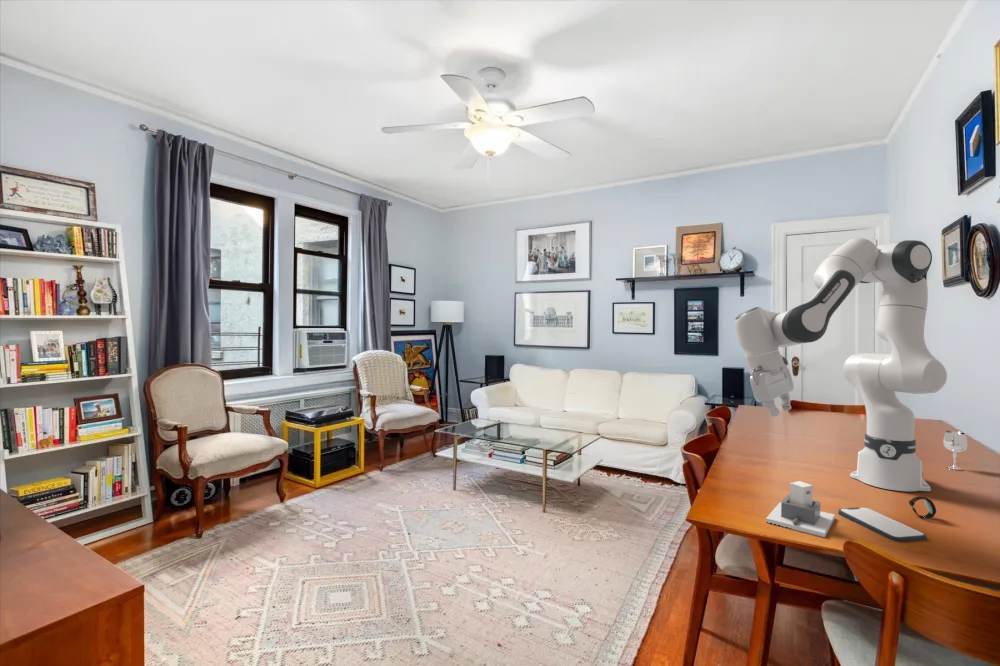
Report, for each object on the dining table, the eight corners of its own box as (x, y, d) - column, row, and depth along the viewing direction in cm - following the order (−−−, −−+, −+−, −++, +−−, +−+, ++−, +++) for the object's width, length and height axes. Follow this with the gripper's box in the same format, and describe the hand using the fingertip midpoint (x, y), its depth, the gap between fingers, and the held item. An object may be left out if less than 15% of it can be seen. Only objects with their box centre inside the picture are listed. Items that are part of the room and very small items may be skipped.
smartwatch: (936, 522, 117) (936, 502, 117) (908, 516, 120) (908, 496, 120) (935, 517, 120) (936, 497, 120) (908, 511, 123) (908, 492, 123)
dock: (779, 505, 127) (780, 488, 127) (834, 518, 119) (835, 500, 119) (765, 522, 117) (766, 504, 117) (824, 537, 109) (825, 517, 108)
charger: (798, 512, 120) (799, 481, 120) (812, 518, 117) (813, 485, 117) (789, 514, 119) (790, 482, 118) (803, 520, 115) (804, 487, 115)
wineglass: (965, 472, 154) (966, 435, 154) (941, 468, 158) (942, 432, 158) (967, 469, 158) (968, 432, 157) (943, 465, 162) (944, 429, 162)
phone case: (929, 542, 108) (865, 512, 124) (930, 535, 108) (866, 506, 123) (895, 545, 106) (835, 514, 122) (895, 538, 106) (835, 508, 122)
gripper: (762, 366, 126) (780, 417, 124) (789, 358, 140) (805, 404, 137) (739, 371, 131) (756, 421, 128) (766, 363, 144) (782, 408, 142)
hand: (782, 412), depth 133 cm, fingers open, 8 cm apart
